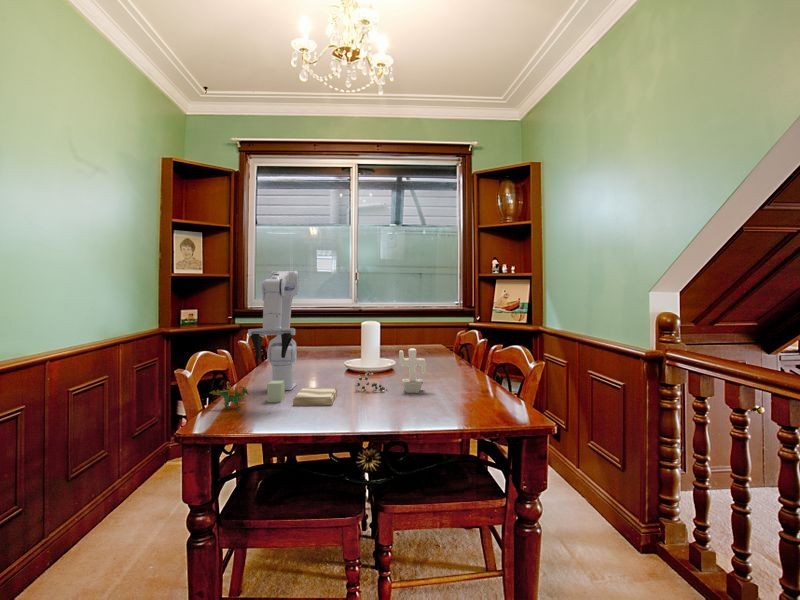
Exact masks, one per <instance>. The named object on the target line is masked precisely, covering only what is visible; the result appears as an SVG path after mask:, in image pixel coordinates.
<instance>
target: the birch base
mask: <svg viewBox="0 0 800 600" xmlns="http://www.w3.org/2000/svg"><path fill="white" fill-rule="evenodd" d="M337 396H338V388H337V387H335V386H334V387H302V388H301V389H300V390H299V391H298V393H297V394H296V395H295V396H294V397H293V399H292V406H295V407H296V406H297V407H299V406H304V407H305V406H309V407H310V406H333V405H334V404H333V403H334V402H335V400H336V398H337Z"/></svg>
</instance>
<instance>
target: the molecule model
mask: <svg viewBox="0 0 800 600" xmlns="http://www.w3.org/2000/svg"><path fill="white" fill-rule="evenodd" d="M364 372H366V373H365V374H364V376H365V377H361V375H360V374H358V375H357V378H358V380H359V382H357V383H355V384H354V386H355V388H358V387H360V388H361V389H362V390H361V393H364V392H365V391H367V388H366V387H367V386H371V387H372V389H373V390H374V391H376V390H379V391H380V392H382V393H385V392H386V391H389V388H386V387H385V386H382V384H378V383H377V382H375V381H372V382H371V383H369V382H368V380H369V378H368V377H369V376H370V375H371V376H373V375H374V373H373V372H371V373H370V372H368V369H365V370H364ZM363 380H365V385H364V386H362V385H361V383H360V382H361V381H363Z"/></svg>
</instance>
